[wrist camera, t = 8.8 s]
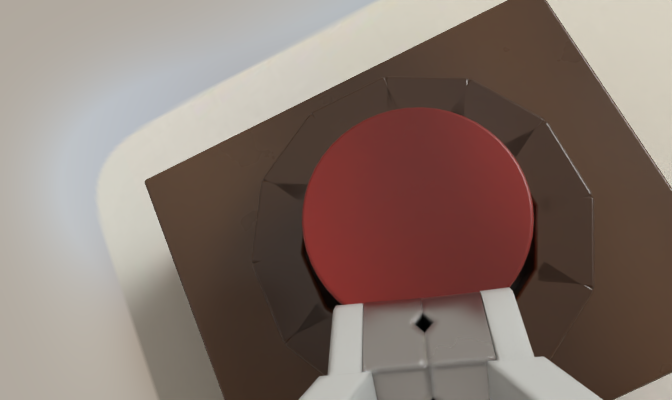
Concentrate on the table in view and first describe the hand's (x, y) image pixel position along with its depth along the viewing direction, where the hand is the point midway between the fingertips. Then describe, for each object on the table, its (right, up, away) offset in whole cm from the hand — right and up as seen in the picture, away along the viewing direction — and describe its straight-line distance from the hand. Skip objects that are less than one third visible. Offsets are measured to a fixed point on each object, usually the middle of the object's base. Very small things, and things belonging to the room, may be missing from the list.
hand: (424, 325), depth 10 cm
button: (0, +1, +3) cm, 3 cm away
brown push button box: (+2, 0, +10) cm, 10 cm away
